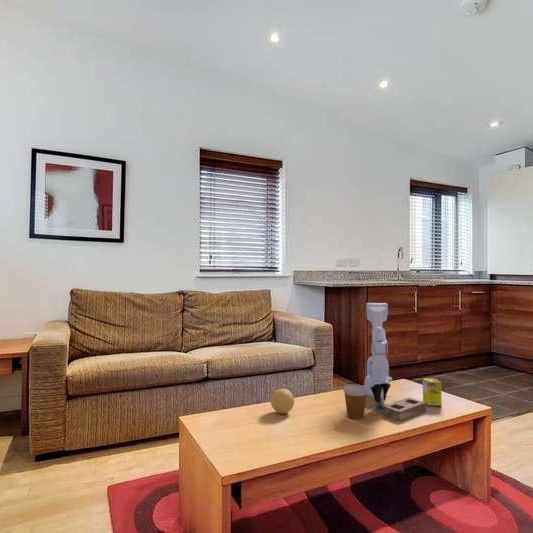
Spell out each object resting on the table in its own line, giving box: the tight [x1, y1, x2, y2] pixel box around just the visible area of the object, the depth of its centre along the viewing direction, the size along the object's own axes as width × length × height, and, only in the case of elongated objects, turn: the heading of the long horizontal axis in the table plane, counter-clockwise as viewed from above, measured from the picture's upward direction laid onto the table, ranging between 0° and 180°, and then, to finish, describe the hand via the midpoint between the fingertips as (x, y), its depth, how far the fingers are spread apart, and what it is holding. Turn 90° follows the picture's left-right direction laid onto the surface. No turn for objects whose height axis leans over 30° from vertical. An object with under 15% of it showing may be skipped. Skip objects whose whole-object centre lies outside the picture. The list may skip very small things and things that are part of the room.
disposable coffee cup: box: [343, 383, 367, 420], centre depth 152 cm, size 10×10×12 cm
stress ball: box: [270, 388, 295, 415], centre depth 157 cm, size 10×10×10 cm
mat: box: [364, 403, 386, 415], centre depth 161 cm, size 9×10×1 cm
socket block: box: [382, 397, 427, 422], centre depth 155 cm, size 8×18×4 cm, turn 126°
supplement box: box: [422, 378, 442, 408], centre depth 166 cm, size 6×6×11 cm
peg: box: [375, 386, 385, 409], centre depth 162 cm, size 3×3×9 cm
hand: (380, 400), depth 162 cm, fingers closed on peg, 3 cm apart
